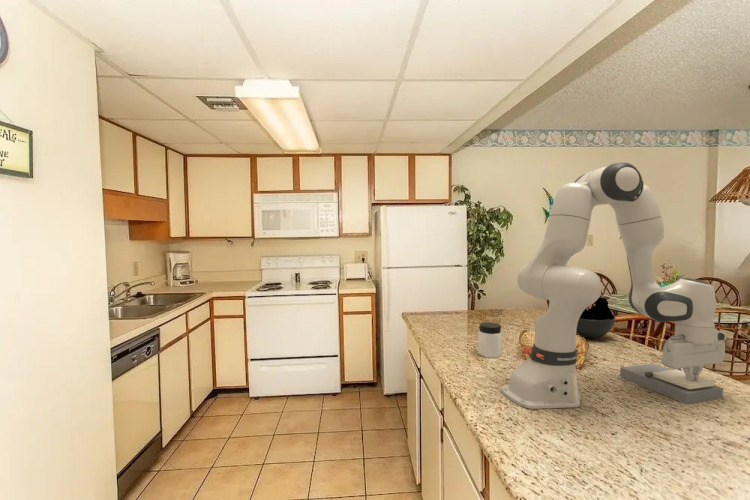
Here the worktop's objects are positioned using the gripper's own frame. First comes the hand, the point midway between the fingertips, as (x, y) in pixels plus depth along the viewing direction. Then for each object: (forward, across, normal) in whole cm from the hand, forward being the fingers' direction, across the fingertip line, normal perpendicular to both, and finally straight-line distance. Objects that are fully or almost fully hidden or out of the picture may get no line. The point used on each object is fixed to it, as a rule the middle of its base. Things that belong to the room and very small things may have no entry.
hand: (691, 379), depth 110 cm
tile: (0, 0, +3) cm, 3 cm away
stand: (+5, 0, +7) cm, 8 cm away
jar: (+5, -37, +48) cm, 61 cm away
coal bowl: (+5, +20, +57) cm, 61 cm away
